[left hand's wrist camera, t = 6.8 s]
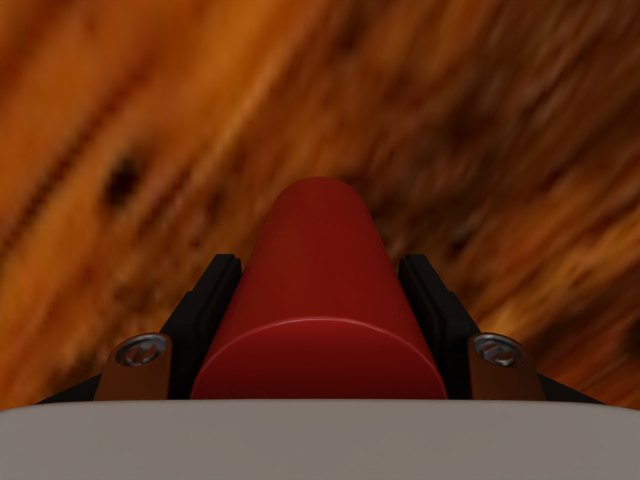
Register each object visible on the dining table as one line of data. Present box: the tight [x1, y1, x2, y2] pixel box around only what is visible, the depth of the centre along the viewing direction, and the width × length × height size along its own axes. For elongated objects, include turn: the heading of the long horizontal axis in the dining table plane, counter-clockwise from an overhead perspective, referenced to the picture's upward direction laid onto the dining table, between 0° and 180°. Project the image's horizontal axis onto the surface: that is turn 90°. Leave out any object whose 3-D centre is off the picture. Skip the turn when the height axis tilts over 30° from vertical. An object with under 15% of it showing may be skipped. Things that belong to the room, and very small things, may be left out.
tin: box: [189, 177, 449, 400], centre depth 13 cm, size 5×5×12 cm
